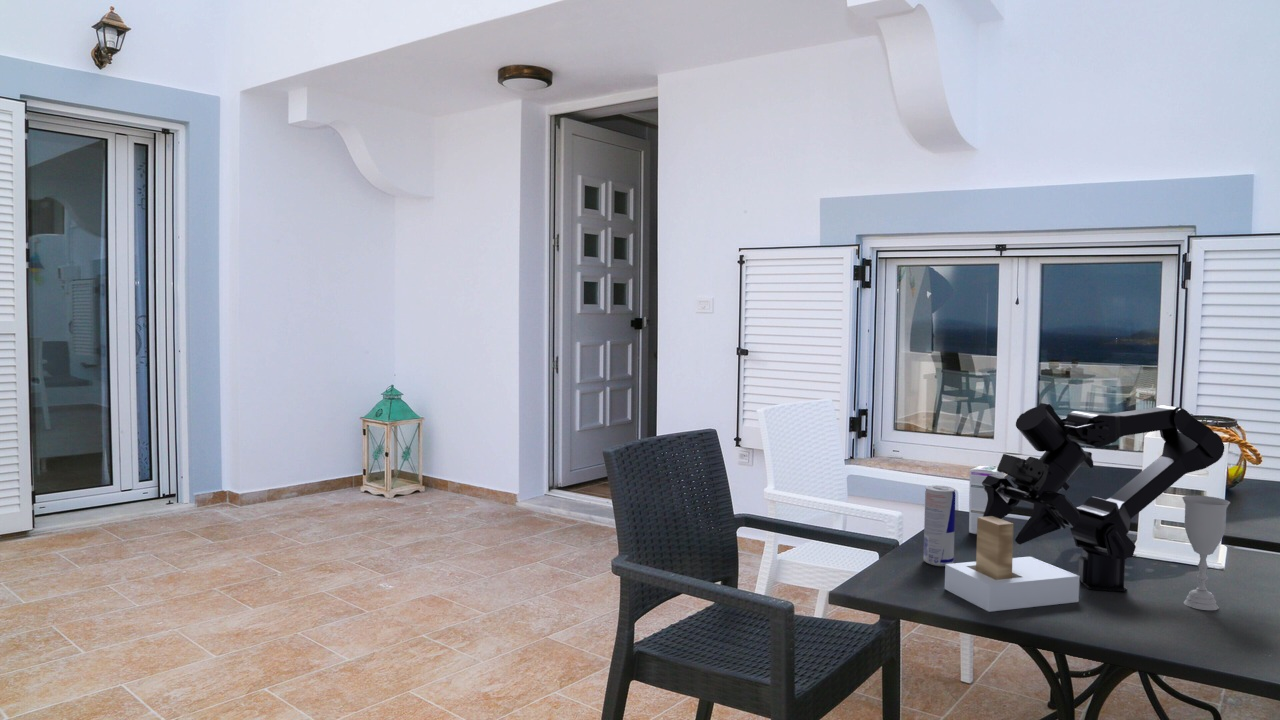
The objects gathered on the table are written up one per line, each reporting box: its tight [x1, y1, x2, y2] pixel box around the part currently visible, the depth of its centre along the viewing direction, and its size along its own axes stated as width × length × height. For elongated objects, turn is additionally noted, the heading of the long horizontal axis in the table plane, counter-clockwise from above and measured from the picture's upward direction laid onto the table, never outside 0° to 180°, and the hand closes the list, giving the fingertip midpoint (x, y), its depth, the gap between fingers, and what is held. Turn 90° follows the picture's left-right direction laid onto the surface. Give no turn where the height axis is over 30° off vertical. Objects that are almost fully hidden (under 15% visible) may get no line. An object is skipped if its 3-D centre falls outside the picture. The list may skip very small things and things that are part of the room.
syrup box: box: [968, 465, 1005, 535], centre depth 196 cm, size 6×6×14 cm
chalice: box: [1181, 495, 1231, 611], centre depth 149 cm, size 7×7×18 cm
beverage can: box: [923, 485, 956, 567], centre depth 173 cm, size 6×6×15 cm
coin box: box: [944, 556, 1080, 613], centre depth 154 cm, size 18×12×4 cm, turn 106°
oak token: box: [975, 516, 1015, 580], centre depth 153 cm, size 3×6×13 cm, turn 17°
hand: (998, 535), depth 153 cm, fingers open, 9 cm apart
